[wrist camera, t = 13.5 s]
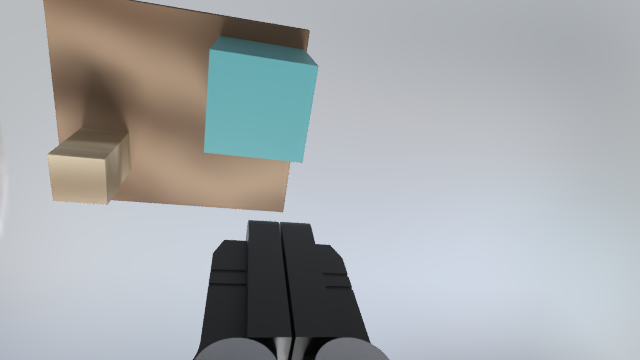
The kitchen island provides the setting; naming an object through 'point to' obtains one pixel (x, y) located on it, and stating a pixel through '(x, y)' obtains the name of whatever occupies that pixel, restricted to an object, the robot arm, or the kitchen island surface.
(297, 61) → the teal foam cube
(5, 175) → the kitchen island surface
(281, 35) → the board
